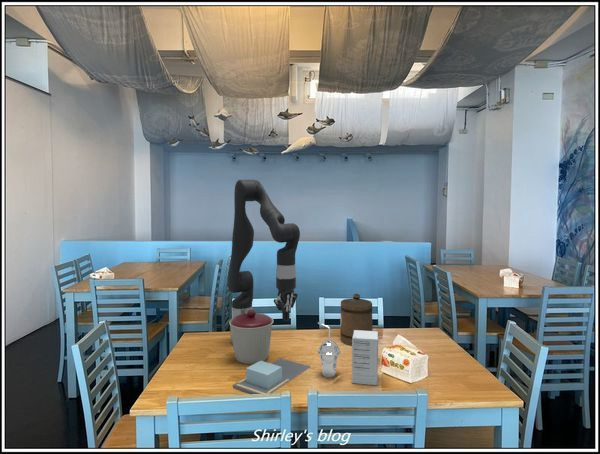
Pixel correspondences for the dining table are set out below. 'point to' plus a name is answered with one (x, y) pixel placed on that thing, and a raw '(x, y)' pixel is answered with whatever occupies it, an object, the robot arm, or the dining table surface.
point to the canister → (251, 336)
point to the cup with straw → (328, 356)
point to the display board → (288, 373)
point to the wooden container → (354, 317)
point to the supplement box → (365, 357)
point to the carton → (264, 374)
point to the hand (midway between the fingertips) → (285, 320)
